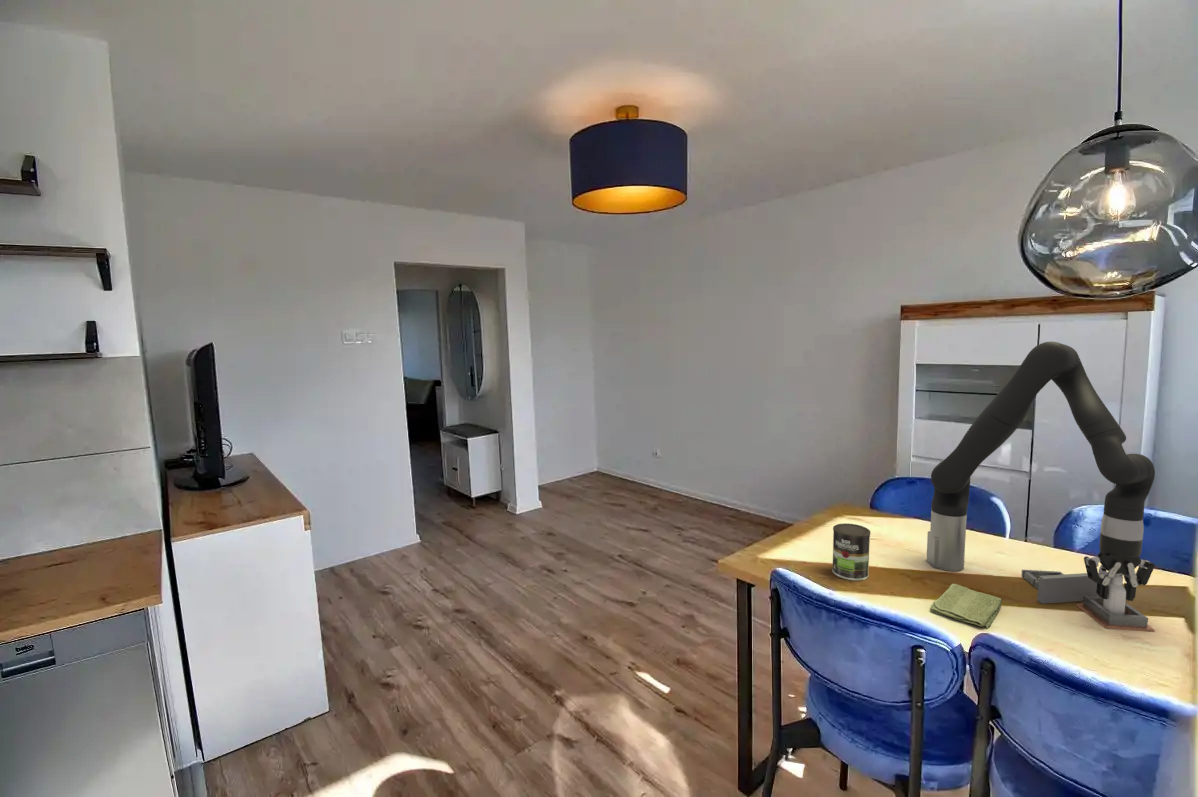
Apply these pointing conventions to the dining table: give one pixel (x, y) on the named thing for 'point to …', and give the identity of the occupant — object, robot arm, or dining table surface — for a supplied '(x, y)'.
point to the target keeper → (1114, 615)
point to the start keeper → (1037, 575)
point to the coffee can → (851, 551)
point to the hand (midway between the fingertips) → (1115, 598)
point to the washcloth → (967, 606)
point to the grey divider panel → (1065, 588)
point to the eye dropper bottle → (1115, 596)
